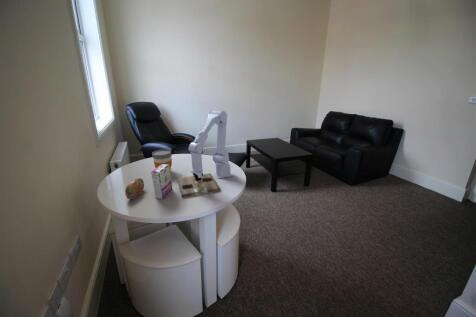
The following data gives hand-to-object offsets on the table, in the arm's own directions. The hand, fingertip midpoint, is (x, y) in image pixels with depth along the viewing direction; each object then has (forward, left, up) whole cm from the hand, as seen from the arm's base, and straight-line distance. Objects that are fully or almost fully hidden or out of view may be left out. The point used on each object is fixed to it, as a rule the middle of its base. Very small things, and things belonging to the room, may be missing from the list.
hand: (198, 183), depth 130 cm
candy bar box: (+20, -1, -3) cm, 20 cm away
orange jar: (+18, -33, -3) cm, 37 cm away
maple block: (0, +3, -1) cm, 4 cm away
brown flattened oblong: (+35, -6, -3) cm, 36 cm away
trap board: (0, -4, -3) cm, 5 cm away
